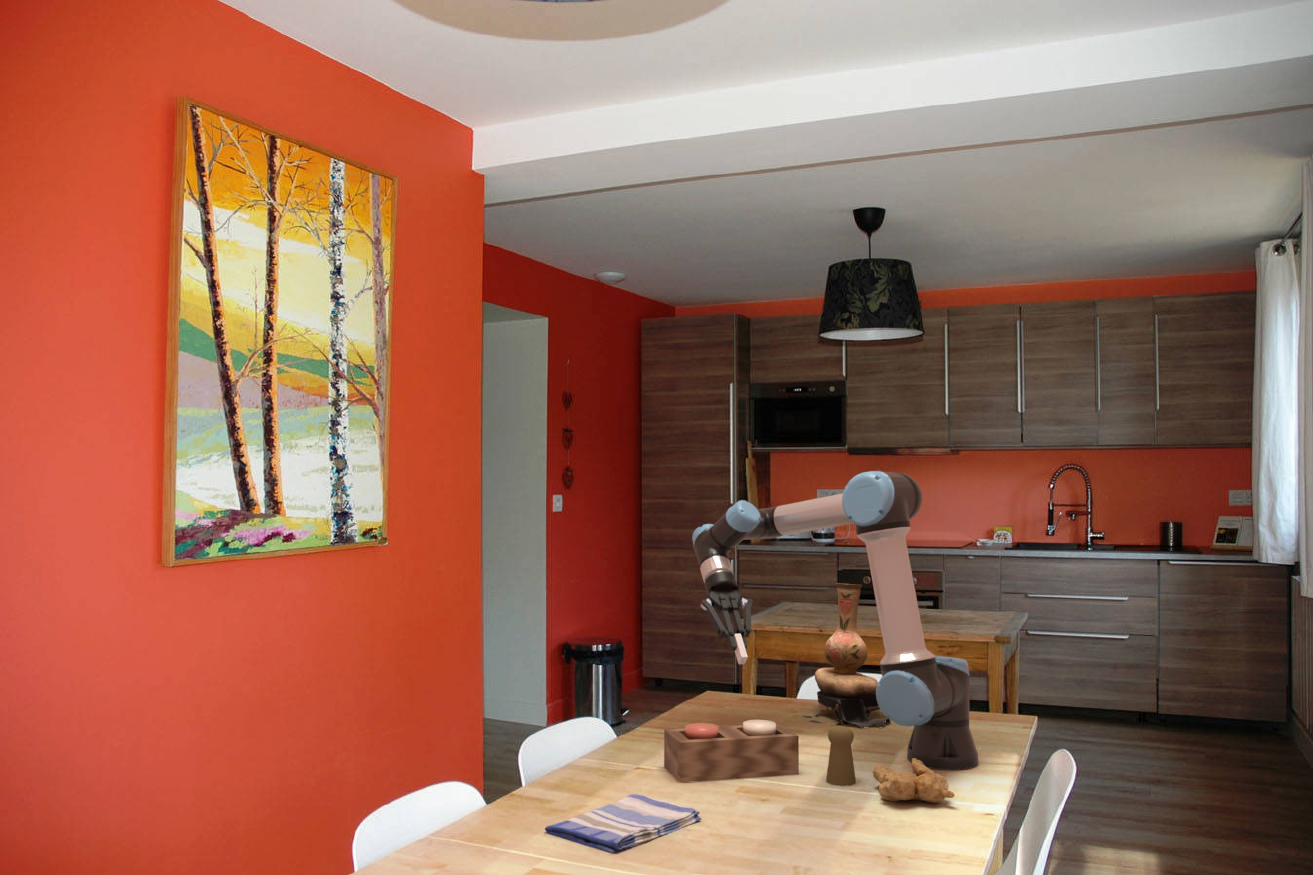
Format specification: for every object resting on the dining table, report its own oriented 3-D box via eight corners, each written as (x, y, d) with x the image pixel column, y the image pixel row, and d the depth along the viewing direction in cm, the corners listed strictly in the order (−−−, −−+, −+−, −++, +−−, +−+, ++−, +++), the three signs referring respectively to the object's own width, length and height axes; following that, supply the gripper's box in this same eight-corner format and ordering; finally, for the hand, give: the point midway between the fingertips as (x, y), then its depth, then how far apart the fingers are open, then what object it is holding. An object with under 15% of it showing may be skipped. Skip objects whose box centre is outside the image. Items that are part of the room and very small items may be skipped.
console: (776, 759, 226) (776, 723, 227) (798, 774, 215) (798, 735, 215) (664, 767, 220) (664, 729, 220) (680, 782, 208) (680, 742, 208)
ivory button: (768, 751, 223) (768, 718, 224) (780, 759, 217) (780, 725, 217) (738, 753, 222) (738, 720, 222) (749, 761, 215) (749, 727, 215)
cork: (855, 786, 206) (855, 731, 207) (825, 784, 207) (825, 729, 208) (856, 778, 212) (855, 724, 213) (826, 776, 213) (826, 723, 214)
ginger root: (954, 809, 188) (943, 765, 189) (869, 820, 193) (859, 777, 194) (960, 789, 202) (950, 748, 204) (881, 800, 207) (872, 760, 209)
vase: (906, 714, 274) (905, 583, 276) (878, 730, 255) (877, 589, 257) (823, 704, 286) (823, 578, 288) (791, 719, 267) (791, 584, 269)
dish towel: (704, 823, 184) (704, 807, 184) (616, 858, 166) (616, 841, 166) (631, 803, 195) (632, 789, 196) (542, 835, 177) (542, 818, 177)
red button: (712, 754, 220) (712, 721, 220) (722, 763, 213) (722, 729, 214) (680, 756, 218) (681, 723, 218) (690, 765, 211) (690, 731, 212)
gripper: (740, 589, 251) (765, 669, 234) (690, 590, 247) (711, 671, 230) (748, 569, 246) (774, 649, 229) (696, 569, 243) (719, 651, 226)
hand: (743, 660), depth 230 cm, fingers closed
